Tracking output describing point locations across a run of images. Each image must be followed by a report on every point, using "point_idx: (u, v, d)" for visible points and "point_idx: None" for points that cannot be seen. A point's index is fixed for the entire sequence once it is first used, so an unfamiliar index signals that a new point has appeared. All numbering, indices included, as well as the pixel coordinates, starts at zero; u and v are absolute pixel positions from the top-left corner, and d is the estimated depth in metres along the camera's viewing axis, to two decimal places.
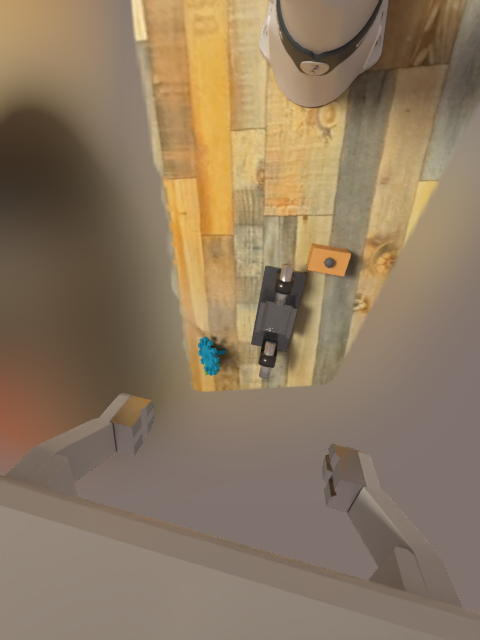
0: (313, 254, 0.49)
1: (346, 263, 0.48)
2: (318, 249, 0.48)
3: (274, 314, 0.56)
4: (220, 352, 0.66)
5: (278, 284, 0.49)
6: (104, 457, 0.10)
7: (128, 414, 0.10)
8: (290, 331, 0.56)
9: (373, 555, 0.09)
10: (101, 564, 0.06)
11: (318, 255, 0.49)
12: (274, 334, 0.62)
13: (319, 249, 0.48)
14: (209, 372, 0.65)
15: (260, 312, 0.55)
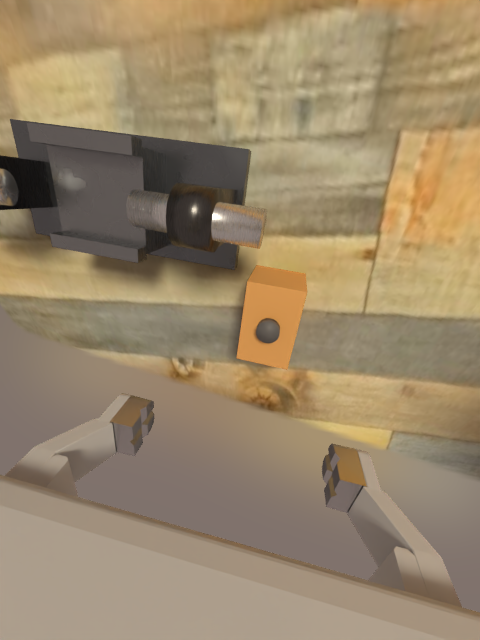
0: (288, 292, 0.19)
1: (265, 361, 0.22)
2: (301, 303, 0.19)
3: (107, 193, 0.18)
4: None
5: (197, 200, 0.14)
6: (104, 457, 0.10)
7: (128, 414, 0.10)
8: (71, 246, 0.19)
9: (373, 555, 0.09)
10: (101, 564, 0.06)
11: (287, 305, 0.19)
12: None
13: (301, 305, 0.19)
14: None
15: (95, 138, 0.16)
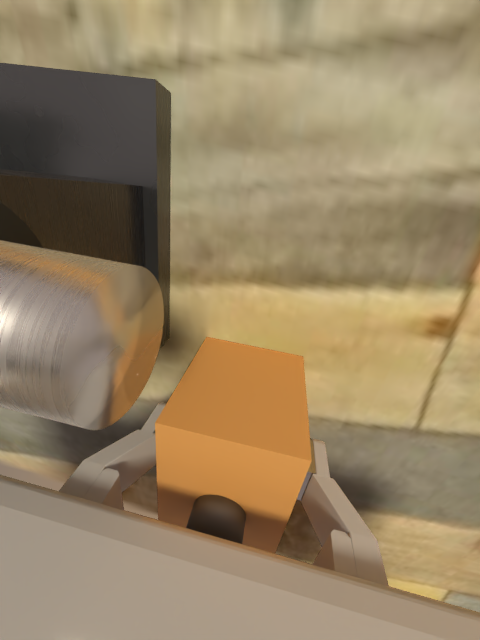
0: (262, 456, 0.07)
1: None
2: (295, 480, 0.07)
3: None
4: None
5: None
6: (146, 468, 0.10)
7: None
8: None
9: (320, 540, 0.09)
10: (101, 564, 0.06)
11: (259, 478, 0.07)
12: None
13: (295, 483, 0.07)
14: None
15: None
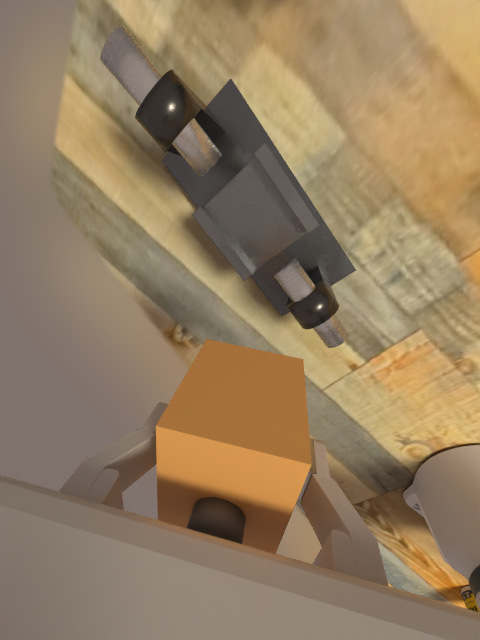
0: (262, 459, 0.07)
1: None
2: (295, 484, 0.07)
3: (264, 223, 0.22)
4: None
5: (328, 307, 0.20)
6: (146, 468, 0.10)
7: None
8: (207, 228, 0.22)
9: (320, 540, 0.09)
10: (101, 564, 0.06)
11: (259, 482, 0.07)
12: (217, 168, 0.24)
13: (295, 487, 0.07)
14: None
15: (298, 202, 0.20)
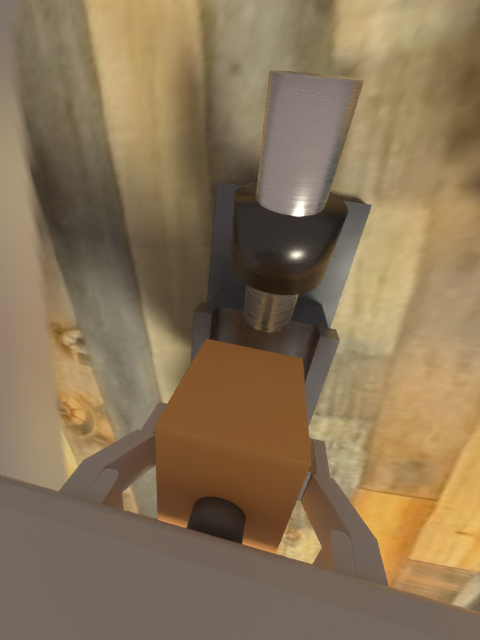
0: (262, 458, 0.07)
1: None
2: (295, 483, 0.07)
3: None
4: None
5: None
6: (146, 468, 0.10)
7: None
8: (197, 337, 0.15)
9: (320, 540, 0.09)
10: (101, 564, 0.06)
11: (258, 481, 0.07)
12: None
13: (294, 486, 0.07)
14: None
15: (308, 407, 0.15)
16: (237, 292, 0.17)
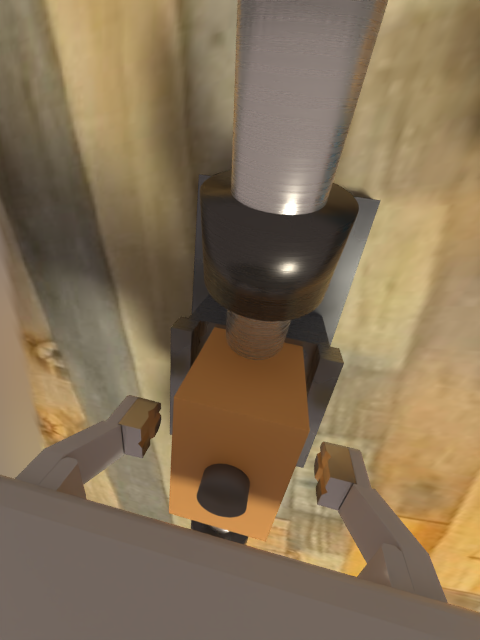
0: (267, 426, 0.08)
1: (224, 525, 0.11)
2: (295, 449, 0.08)
3: None
4: None
5: None
6: (112, 459, 0.10)
7: (136, 416, 0.10)
8: (176, 358, 0.12)
9: (363, 552, 0.09)
10: (101, 564, 0.06)
11: (263, 448, 0.09)
12: None
13: (295, 452, 0.08)
14: None
15: (307, 437, 0.13)
16: None
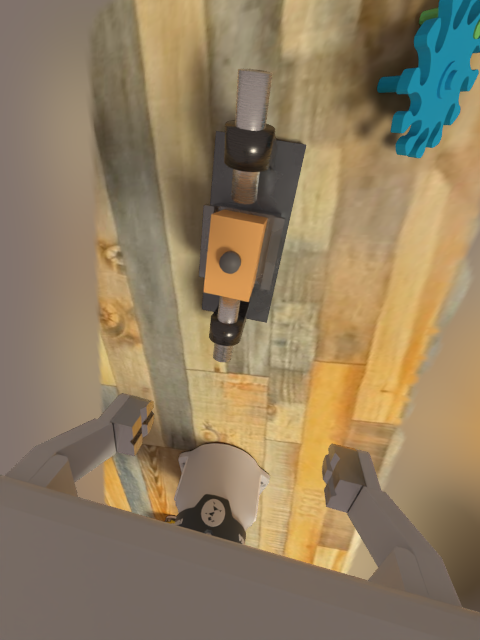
0: (248, 225, 0.21)
1: (229, 294, 0.24)
2: (259, 235, 0.21)
3: None
4: (394, 86, 0.21)
5: (232, 339, 0.28)
6: (104, 457, 0.10)
7: (128, 414, 0.10)
8: (205, 223, 0.25)
9: (373, 555, 0.09)
10: (101, 564, 0.06)
11: (246, 237, 0.21)
12: None
13: (259, 238, 0.21)
14: None
15: (270, 268, 0.26)
16: (228, 205, 0.28)
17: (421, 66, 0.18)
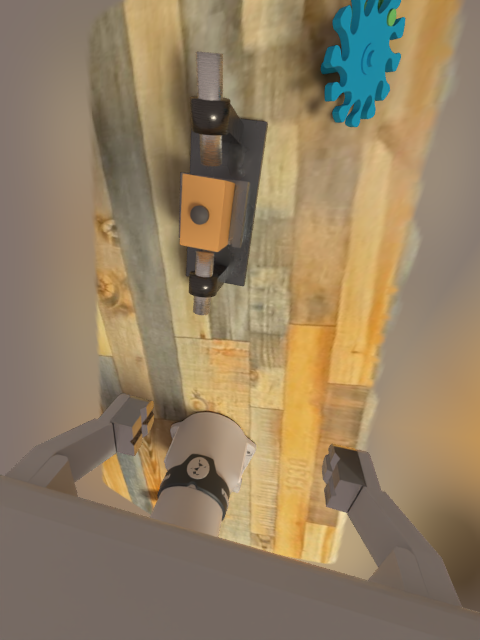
0: (212, 181, 0.25)
1: (201, 246, 0.28)
2: (222, 190, 0.25)
3: None
4: (332, 67, 0.26)
5: (208, 291, 0.32)
6: (104, 457, 0.10)
7: (128, 414, 0.10)
8: None
9: (373, 555, 0.09)
10: (101, 564, 0.06)
11: (212, 193, 0.26)
12: None
13: (222, 193, 0.26)
14: None
15: (239, 227, 0.30)
16: None
17: (343, 45, 0.22)
